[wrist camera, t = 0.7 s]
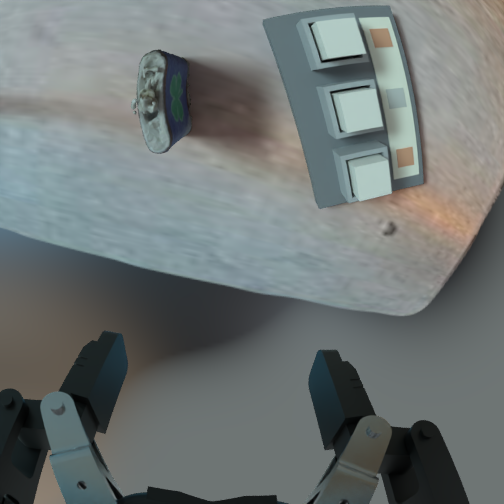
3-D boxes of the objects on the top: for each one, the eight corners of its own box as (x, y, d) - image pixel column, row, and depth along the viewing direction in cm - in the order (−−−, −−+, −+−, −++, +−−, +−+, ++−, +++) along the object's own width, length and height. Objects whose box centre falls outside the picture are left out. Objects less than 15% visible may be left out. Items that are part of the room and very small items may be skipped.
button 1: (345, 158, 27) (354, 167, 24) (376, 151, 26) (388, 160, 24) (350, 190, 29) (359, 201, 26) (380, 182, 28) (391, 193, 26)
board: (262, 23, 22) (264, 12, 18) (382, 8, 20) (401, 0, 16) (316, 202, 34) (324, 221, 30) (416, 178, 31) (435, 193, 27)
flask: (193, 134, 29) (166, 159, 20) (168, 136, 29) (132, 162, 20) (190, 55, 24) (158, 43, 15) (163, 59, 24) (121, 51, 15)
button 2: (309, 27, 20) (315, 21, 17) (344, 23, 19) (354, 17, 16) (320, 60, 21) (328, 58, 19) (354, 55, 21) (366, 53, 18)
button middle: (329, 93, 23) (338, 94, 21) (363, 87, 23) (375, 88, 20) (338, 127, 25) (347, 132, 23) (370, 121, 25) (382, 126, 22)
